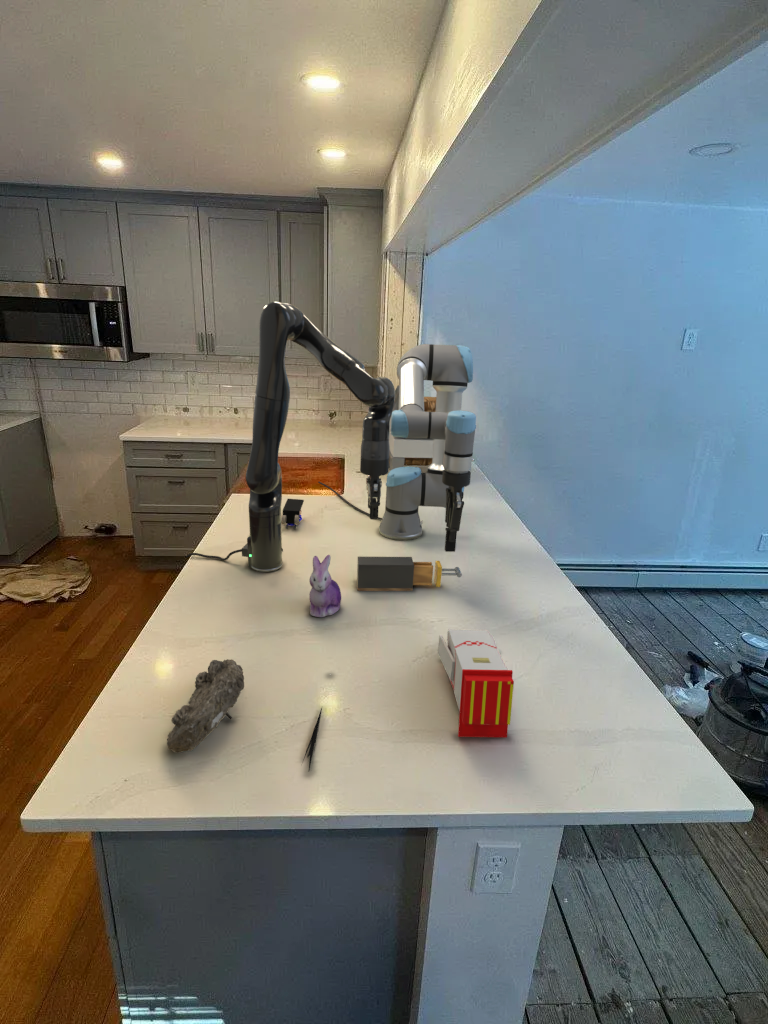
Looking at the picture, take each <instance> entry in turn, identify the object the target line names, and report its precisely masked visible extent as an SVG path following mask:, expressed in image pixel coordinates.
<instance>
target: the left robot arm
mask: <svg viewBox="0 0 768 1024" xmlns="http://www.w3.org/2000/svg"><path fill="white" fill-rule="evenodd" d="M288 341H291V342H292V343H295V344H297V345H298V346H300V347H302V348H304V349H305V350H307V351H308V352H309V353H310V354H311V355H312V356H313V357H314V358H315V359H316V361H317V362H318V363H319V365H320V366H321V367H322V368H323V369H324V370H325V371H326V372H327V373H328V374H329V375H331V376H332V377H334V378H335V379H336V380H337V381H339V382H341V384H343V385H345V387H347V389H348V390H349V391H350V392H351V394H352V395H353V396H354V397H355V398H356V399H357V400H358V401H359V402H360V403H361V404H362V405H365V406H367V407H368V412H367V413H366V415H365V416H364V418H363V420H362V427H361V428H362V429H361V431H362V432H361V444H360V460H359V461H360V463H359V464H360V465H359V466H360V467H359V470H360V471H359V472H360V473H361V474H363V475H364V476H367V477H366V479H365V485H366V493H367V508H368V509H369V514H370V516H369V519H370V520H379V519H378V517H379V507H380V505H381V497H382V486H383V482H382V478H381V476H387V475H388V473H389V472H390V467H389V450H390V447H389V429H390V418H391V415H392V411H393V406H394V401H395V390H396V388H395V385H394V383H393V381H392V380H391V379H389V378H388V377H385V376H378V377H373V376H372V375H370V374H369V373H368V372H367V371H366V368H365V365H364V363H362V362H361V361H360V360H359V359H357V358H356V357H355V356H353V355H352V354H350V352H348V351H347V350H345V349H344V348H342V347H341V346H340V345H338V344H337V343H336V342H334V341H333V340H332V339H331V338H329V337H328V336H327V335H326V334H325V333H324V332H322V330H321V329H319V327H317V326H316V325H315V324H314V323H313V322H312V320H311V319H309V318H308V317H307V315H306V314H305V313H304V312H303V311H302V310H301V309H300V308H299V307H297V305H294V304H291V303H288V302H281V301H270V302H269V303H267V304H266V305H265V306H264V307H263V309H262V311H261V313H260V318H259V342H258V343H259V348H258V349H259V352H258V364H257V375H256V386H255V393H254V402H253V414H252V415H253V416H252V438H251V439H252V440H251V441H252V442H251V448H250V449H251V450H250V454H249V459H248V464H247V467H246V472H245V482H246V485H247V487H248V489H249V499H248V500H249V501H248V522H249V523H248V524H249V536H248V537H247V538H246V544H245V545H244V546H243V547H242V548H240V549H236V550H233V551H230V553H228V554H227V556H226V557H224V558H223V557H221V556H219V555H207V554H203V553H198V552H191V553H188V554H186V556H185V558H190V557H191V556H198V557H201V558H206V559H207V558H208V559H217V560H219V561H221V562H222V561H224V562H226V561H227V560H228V559H230V557H231V556H232V555H234V554H237V553H241V557H245V558H247V567H248V568H251V569H252V570H254V571H256V572H259V573H270V572H271V573H272V572H275V571H278V570H279V569H281V568H282V567H283V553H284V549H283V537H282V536H283V535H282V533H283V532H282V524H281V520H282V500H283V472H282V467H281V465H280V463H279V450H280V445H281V441H282V439H283V434H284V431H285V427H286V424H287V419H288V415H289V408H290V400H291V387H290V381H289V378H288V374H287V369H286V364H285V363H286V362H285V361H286V360H285V358H286V349H287V344H288Z"/></svg>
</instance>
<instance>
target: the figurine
mask: <svg viewBox="0 0 768 1024" xmlns="http://www.w3.org/2000/svg"><path fill="white" fill-rule="evenodd" d="M331 557H332V556H331V554H327V555H326V556H325V557H324V558H323V560H322V561H320V559H319V557H318V556H317V555H314V556H313V557H312V572H311V574H310V577H309V585H310V586H311V589H310V591H309V598H308V599H309V604H310V605H309V612H310V613H309V614H310V616H313V617H316V618H325V617H326V616H332V615H334V614H336V613H337V612H339V610H340V609H341V602H342V593H341V588H340V586H339V584H338V583H337V581H335V580H334V579H332V576H331V573H330V572H329V567H330V565H331Z"/></svg>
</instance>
